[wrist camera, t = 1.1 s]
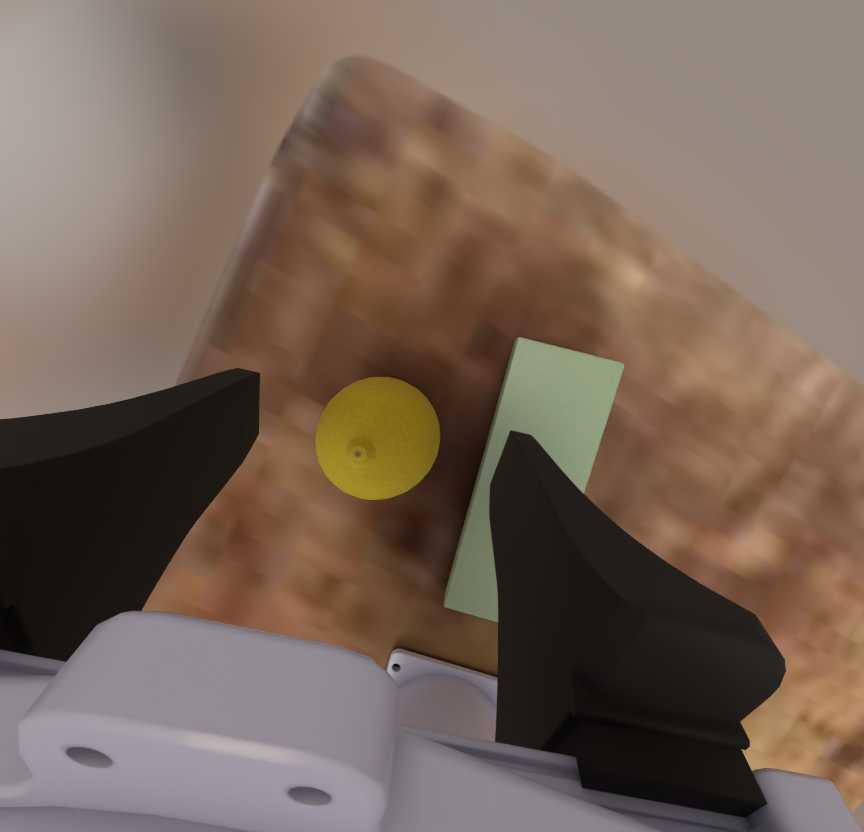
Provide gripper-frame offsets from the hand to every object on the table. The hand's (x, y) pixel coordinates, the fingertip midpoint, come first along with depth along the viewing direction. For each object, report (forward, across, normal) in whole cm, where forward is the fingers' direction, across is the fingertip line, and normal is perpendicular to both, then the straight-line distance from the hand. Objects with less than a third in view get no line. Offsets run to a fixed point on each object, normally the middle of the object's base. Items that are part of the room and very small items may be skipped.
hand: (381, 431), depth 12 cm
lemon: (+10, 0, +6) cm, 12 cm away
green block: (+9, -8, +7) cm, 13 cm away
